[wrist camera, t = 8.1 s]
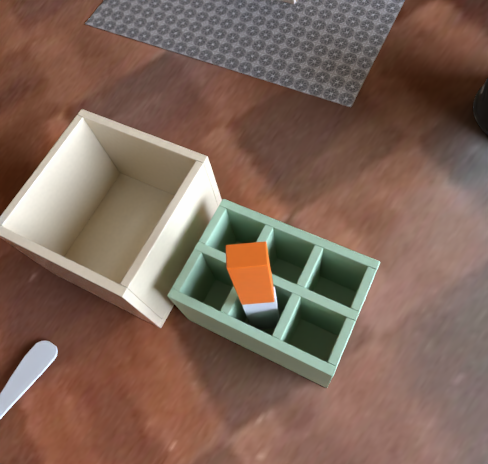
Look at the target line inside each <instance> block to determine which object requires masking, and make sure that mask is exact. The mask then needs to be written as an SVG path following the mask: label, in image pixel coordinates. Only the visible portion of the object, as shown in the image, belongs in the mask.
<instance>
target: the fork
mask: <svg viewBox="0 0 488 464" xmlns="http://www.w3.org/2000/svg"><path fill="white" fill-rule="evenodd" d="M57 353H58V351H57V347H56V346H55V345H54V344H52V343H51V342H50V341H40V342H38V343H36V344H35V345H34V346H33V347H32V348H31V349H30V351H29V352H28V353H27V354H26V355H25V356H24V358H23V359H22V361H21V362H20V364H19V365H18V367H17V368H16V370H15V371H14V373H13V374H12V376H11V377H10V379H9V380H8V382H7V384H6V385H5V387H4V389H3V390H2V392H1V393H0V419H1V418H2V417H3V416H4V415H5V413H6V412H7V411H8V410H9V409H10V408H11V407H12V406H13V405H14V404H15V402H16V401H17V400H18V399H19V398H20V397H21V396H22V395H23V394H24V393H25V392H26V391H27V390H28V388H29V387H30V386H31V385H32V384H33V383H34V382H35V381H36V380H37V379H38V378H39V377H40V376H41V374H42V373H43V372H44V371H45V370H46V369H47V368H48V367H49V365H50V364H51V363H52V362H53V361H54V360H55V358H56V356H57Z"/></svg>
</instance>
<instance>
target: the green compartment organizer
mask: <svg viewBox="0 0 488 464" xmlns="http://www.w3.org/2000/svg"><path fill="white" fill-rule="evenodd" d="M264 241H266V243H267V249H268V255H269V261H270V267H271V273H272V279H273V287H275V291H276V297H277V303H278V310H279V316H280V319H279V321H278V323H277V325H276V328H275V329H262V330H259V329H256V328H254V327H252V326H250V323H249V321H248V318H247V316H246V314H245V311H244V309H243V307H242V304H241V302H240V299H239V297H238V295H237V292H236V290H235V288H234V285H233V283H232V280H231V278H230V276H229V273H228V271H227V269H226V245H232V244H242V243H253V242H264ZM379 264H380V261H377V260H375V259H372V258H370V257H367V256H365V255H362V254H360V253H357V252H355V251H352V250H350V249H347V248H345V247H342V246H340V245H337V244H335V243H332V242H330V241H327V240H325V239H322V238H320V237H318V236H315V235H313V234H310V233H308V232H305V231H303V230H300V229H298V228H295V227H293V226H290V225H288V224H285V223H283V222H280V221H278V220H275V219H273V218H270V217H268V216H265V215H263V214H260V213H258V212H255V211H253V210H250V209H248V208H245V207H243V206H240V205H238V204H235V203H233V202H230V201H228V200H225V199H222V201H221V203H220V205H219V206H218V208H217V210H216V212H215V213H214V215H213V217H212V219H211V220H210V222H209V224H208V226H207V227H206V229H205V231H204V233H203V234H202V236H201V238H200V240H199V242H198V243H197V244H196V246H195V248H194V250H193V252H192V253H191V255H190V257H189V259H188V260H187V262H186V264H185V266H184V267H183V269H182V271H181V273H180V274H179V276H178V278H177V279H176V281H175V283H174V285H173V286H172V288H171V290H170V292H169V293H168V295H167V296H168V298H169V299H170V300H171V301H172V302H173V303H174V304H175V305H176V306H177V307H178V309H179V310H180V311H181V312H182V313H183V314H184V315H185V316H186V317H187V318H188V319H189V320H190V321H192V322H194V323H196V324H198V325H200V326H202V327H204V328H206V329H208V330H210V331H212V332H214V333H216V334H218V335H220V336H222V337H224V338H226V339H228V340H230V341H233V342H235V343H237V344H239V345H241V346H243V347H245V348H247V349H249V350H251V351H253V352H255V353H257V354H259V355H261V356H263V357H265V358H267V359H269V360H271V361H273V362H275V363H277V364H279V365H281V366H283V367H285V368H287V369H289V370H291V371H293V372H295V373H297V374H299V375H301V376H303V377H305V378H307V379H309V380H311V381H313V382H315V383H317V384H319V385H321V386H323V387H325V388H327V387H328V385H329V383H330V381H331V379H332V377H333V375H334V373H335V370H336V368H337V366H338V363H339V361H340V358H341V356H342V354H343V351H344V349H345V346H346V344H347V341H348V339H349V337H350V334H351V332H352V329H353V327H354V324H355V322H356V320H357V317H358V315H359V312H360V310H361V308H362V305H363V303H364V300H365V298H366V295H367V293H368V291H369V288H370V286H371V283H372V281H373V279H374V276H375V274H376V271H377V269H378V266H379Z"/></svg>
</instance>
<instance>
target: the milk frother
mask: <svg viewBox="0 0 488 464" xmlns="http://www.w3.org/2000/svg"><path fill="white" fill-rule="evenodd" d="M473 112H474V116H475V119H476V121H477V123H478V124H479V126H480V128H481V129H482V130H483V131H484V132H485V133H486V134H487V135H488V79H487V80H486V82H485V83H484V85H483V86H482V87H481V88H480V89H479V91H478V92H477V94H476V96H475V99H474V103H473Z"/></svg>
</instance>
